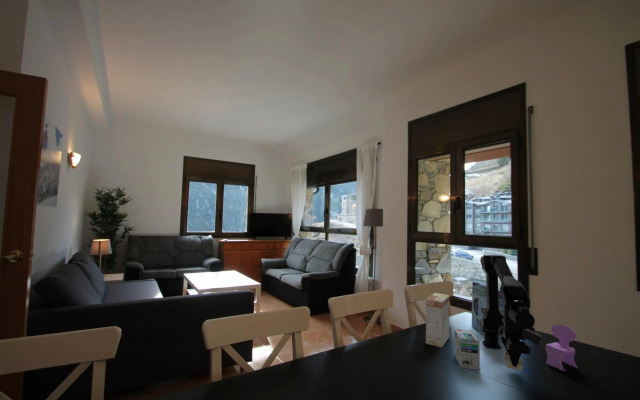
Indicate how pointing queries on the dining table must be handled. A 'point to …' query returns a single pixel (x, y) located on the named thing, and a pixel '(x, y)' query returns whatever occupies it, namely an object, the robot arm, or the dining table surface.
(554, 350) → the toy chair
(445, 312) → the coffeecake box
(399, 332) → the dining table surface
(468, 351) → the light bulb box
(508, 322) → the robot arm
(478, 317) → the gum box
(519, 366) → the birch block
